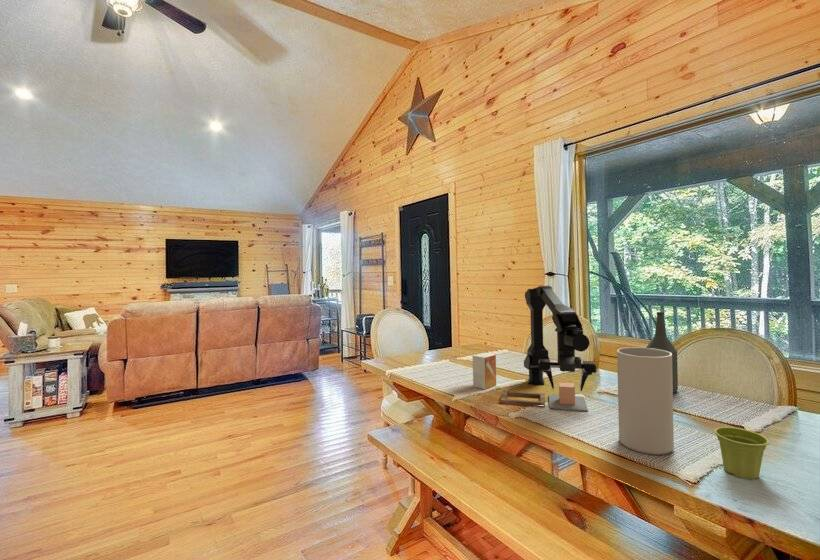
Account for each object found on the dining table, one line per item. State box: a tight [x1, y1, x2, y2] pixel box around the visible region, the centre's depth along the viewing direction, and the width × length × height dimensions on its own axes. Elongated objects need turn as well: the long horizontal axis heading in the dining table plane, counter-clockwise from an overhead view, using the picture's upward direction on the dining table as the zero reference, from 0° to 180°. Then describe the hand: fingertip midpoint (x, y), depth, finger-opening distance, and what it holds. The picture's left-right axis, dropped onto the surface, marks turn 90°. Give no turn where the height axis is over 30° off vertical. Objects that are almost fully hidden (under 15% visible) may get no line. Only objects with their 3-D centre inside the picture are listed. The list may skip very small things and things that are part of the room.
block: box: [558, 382, 576, 405], centre depth 137 cm, size 5×5×6 cm
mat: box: [548, 394, 589, 413], centre depth 137 cm, size 14×12×1 cm
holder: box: [500, 390, 546, 407], centre depth 142 cm, size 11×15×1 cm
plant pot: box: [714, 426, 770, 480], centre depth 88 cm, size 9×9×9 cm
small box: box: [472, 352, 497, 390], centre depth 160 cm, size 8×6×13 cm
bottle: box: [645, 311, 679, 393], centre depth 148 cm, size 10×10×30 cm
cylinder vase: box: [616, 347, 675, 455], centre depth 103 cm, size 12×12×25 cm
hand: (567, 389), depth 136 cm, fingers open, 9 cm apart
